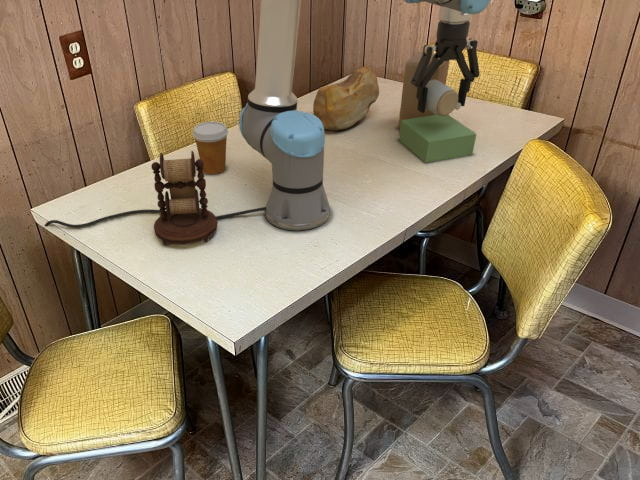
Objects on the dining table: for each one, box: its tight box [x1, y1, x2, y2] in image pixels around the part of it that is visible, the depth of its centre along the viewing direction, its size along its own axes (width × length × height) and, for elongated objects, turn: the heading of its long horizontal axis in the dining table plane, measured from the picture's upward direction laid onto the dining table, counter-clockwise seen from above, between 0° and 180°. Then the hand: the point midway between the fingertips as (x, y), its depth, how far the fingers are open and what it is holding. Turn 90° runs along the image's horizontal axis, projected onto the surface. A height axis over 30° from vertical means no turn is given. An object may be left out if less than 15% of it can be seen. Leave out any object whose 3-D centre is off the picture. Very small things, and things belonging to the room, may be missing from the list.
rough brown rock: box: [312, 65, 380, 132], centre depth 181 cm, size 23×17×15 cm
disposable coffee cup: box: [192, 121, 229, 175], centre depth 159 cm, size 10×10×12 cm
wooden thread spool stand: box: [150, 150, 218, 246], centre depth 132 cm, size 15×15×20 cm
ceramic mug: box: [425, 80, 462, 116], centre depth 156 cm, size 11×8×8 cm
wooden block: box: [398, 51, 451, 129], centre depth 171 cm, size 10×10×20 cm
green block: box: [398, 114, 477, 164], centre depth 164 cm, size 14×16×6 cm
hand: (440, 107), depth 159 cm, fingers closed on ceramic mug, 11 cm apart
